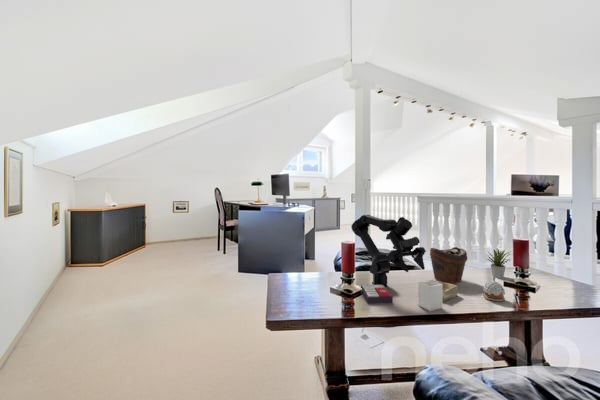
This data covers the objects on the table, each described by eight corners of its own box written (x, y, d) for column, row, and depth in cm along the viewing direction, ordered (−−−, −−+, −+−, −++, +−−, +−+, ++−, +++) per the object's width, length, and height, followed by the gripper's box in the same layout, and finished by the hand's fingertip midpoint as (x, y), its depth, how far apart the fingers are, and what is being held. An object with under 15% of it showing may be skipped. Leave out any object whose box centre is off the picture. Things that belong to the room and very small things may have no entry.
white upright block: (418, 305, 128) (418, 282, 128) (429, 303, 131) (429, 280, 130) (430, 311, 122) (430, 286, 122) (442, 308, 125) (442, 284, 124)
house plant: (522, 279, 163) (523, 249, 162) (501, 281, 160) (501, 250, 159) (500, 272, 176) (500, 244, 176) (479, 274, 174) (480, 246, 173)
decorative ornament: (508, 302, 131) (508, 267, 131) (490, 302, 131) (490, 267, 131) (497, 296, 139) (497, 263, 138) (480, 296, 139) (480, 263, 138)
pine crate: (419, 294, 142) (419, 285, 141) (431, 289, 149) (431, 279, 149) (445, 301, 132) (445, 291, 132) (457, 295, 140) (457, 285, 140)
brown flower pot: (471, 278, 165) (471, 245, 165) (462, 288, 150) (461, 252, 150) (437, 273, 177) (436, 243, 177) (425, 281, 162) (424, 248, 162)
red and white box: (367, 295, 131) (360, 283, 146) (367, 305, 132) (360, 292, 147) (392, 295, 131) (383, 283, 146) (392, 305, 132) (383, 292, 147)
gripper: (390, 232, 134) (409, 262, 124) (422, 229, 141) (442, 258, 132) (379, 247, 141) (395, 276, 132) (410, 243, 149) (428, 271, 139)
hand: (416, 270), depth 133 cm, fingers open, 9 cm apart
